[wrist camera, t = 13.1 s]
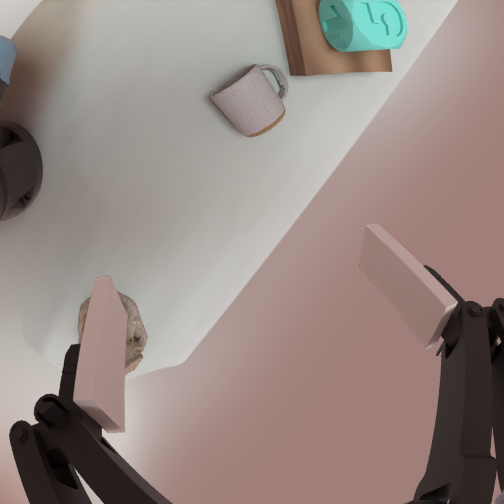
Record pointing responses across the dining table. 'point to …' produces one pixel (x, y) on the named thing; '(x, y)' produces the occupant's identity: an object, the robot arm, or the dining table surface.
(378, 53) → the walnut block
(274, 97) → the ceramic mug
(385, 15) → the decorative dice
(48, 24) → the dining table surface
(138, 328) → the ceramic cottage
